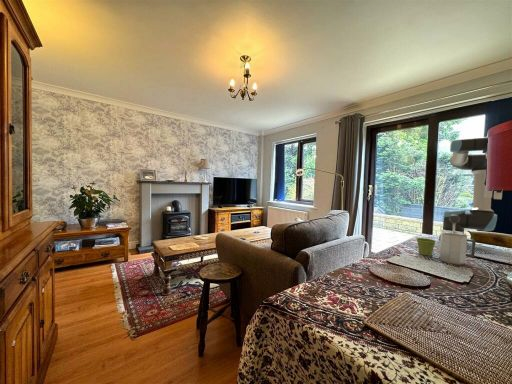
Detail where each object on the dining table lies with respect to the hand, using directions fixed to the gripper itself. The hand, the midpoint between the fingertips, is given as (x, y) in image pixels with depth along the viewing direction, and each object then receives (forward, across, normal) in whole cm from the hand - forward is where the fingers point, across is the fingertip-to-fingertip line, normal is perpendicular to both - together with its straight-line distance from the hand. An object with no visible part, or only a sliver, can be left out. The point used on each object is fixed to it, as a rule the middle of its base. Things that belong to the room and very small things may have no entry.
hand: (492, 198), depth 118 cm
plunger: (+30, +12, -17) cm, 37 cm away
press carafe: (+35, +12, -15) cm, 40 cm away
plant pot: (+35, +6, -28) cm, 45 cm away
